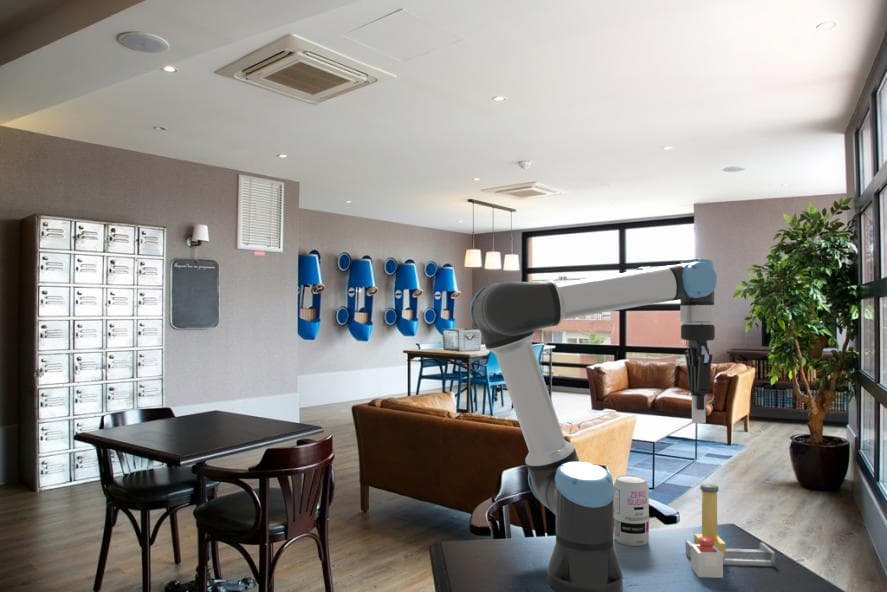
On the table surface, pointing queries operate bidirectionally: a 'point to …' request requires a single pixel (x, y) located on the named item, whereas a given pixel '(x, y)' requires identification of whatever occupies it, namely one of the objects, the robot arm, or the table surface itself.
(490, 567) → the table surface
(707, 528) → the sliding lever handle
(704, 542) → the button
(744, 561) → the rail
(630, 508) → the supplement can
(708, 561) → the white button housing
